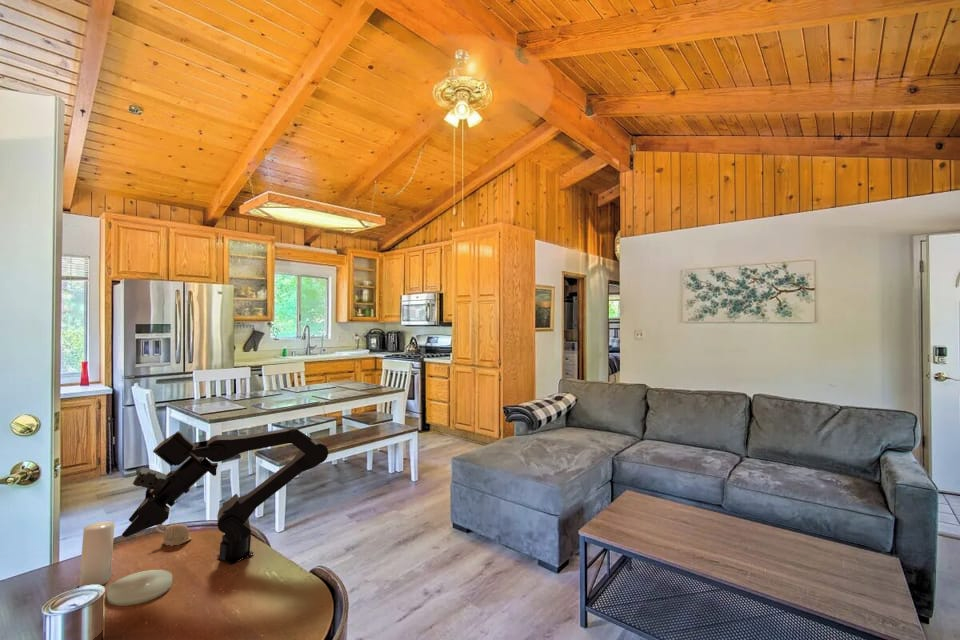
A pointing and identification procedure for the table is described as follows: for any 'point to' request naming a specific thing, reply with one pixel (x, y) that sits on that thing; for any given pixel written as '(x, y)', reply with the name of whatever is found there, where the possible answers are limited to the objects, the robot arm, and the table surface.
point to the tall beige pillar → (97, 553)
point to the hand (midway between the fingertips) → (126, 528)
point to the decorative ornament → (174, 534)
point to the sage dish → (139, 587)
